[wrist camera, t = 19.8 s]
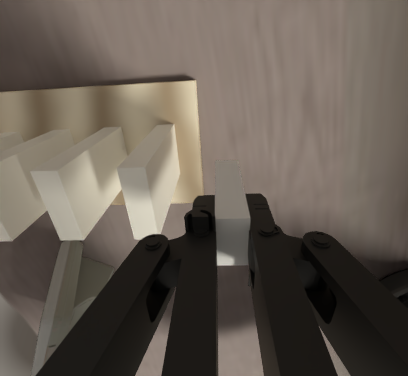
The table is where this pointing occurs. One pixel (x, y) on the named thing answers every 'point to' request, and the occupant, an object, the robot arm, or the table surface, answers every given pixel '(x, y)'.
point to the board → (115, 120)
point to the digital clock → (68, 297)
